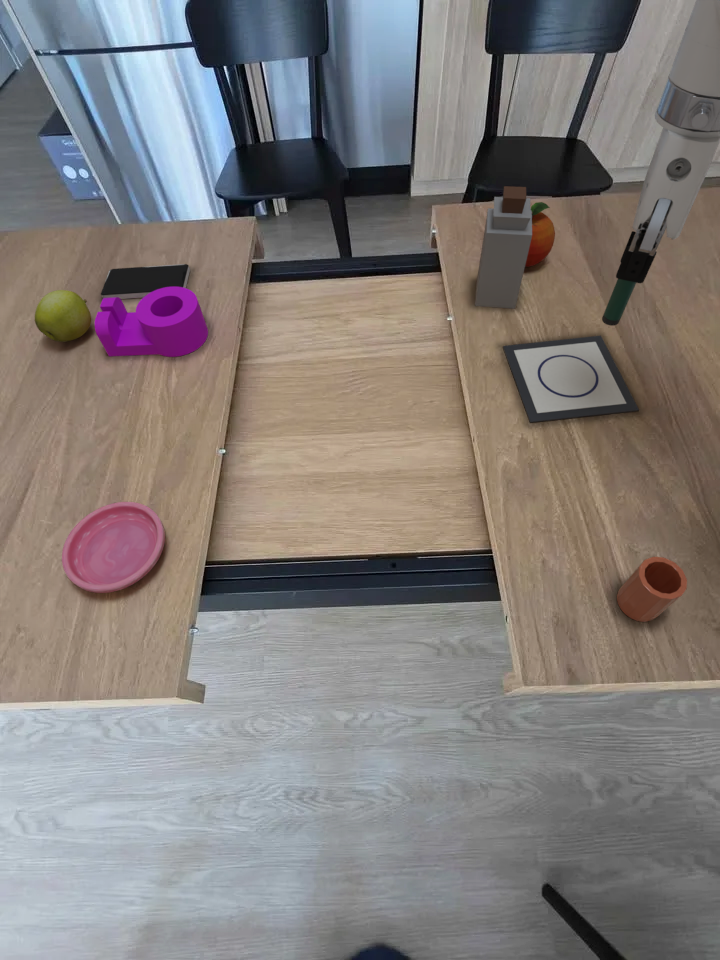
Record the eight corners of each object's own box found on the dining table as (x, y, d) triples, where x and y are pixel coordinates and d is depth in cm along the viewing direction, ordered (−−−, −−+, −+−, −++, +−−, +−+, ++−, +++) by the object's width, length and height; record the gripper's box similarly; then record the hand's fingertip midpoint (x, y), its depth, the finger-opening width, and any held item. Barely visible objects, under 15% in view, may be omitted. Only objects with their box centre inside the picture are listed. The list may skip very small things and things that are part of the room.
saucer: (64, 537, 73) (52, 525, 70) (156, 498, 76) (147, 485, 73) (83, 617, 66) (71, 608, 64) (182, 572, 69) (174, 561, 67)
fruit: (485, 253, 103) (493, 200, 95) (528, 238, 105) (540, 186, 97) (514, 281, 98) (525, 229, 90) (558, 266, 100) (574, 213, 92)
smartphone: (110, 268, 104) (188, 263, 103) (112, 273, 105) (190, 268, 104) (99, 295, 99) (182, 290, 99) (102, 301, 100) (184, 296, 100)
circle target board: (600, 336, 89) (601, 334, 89) (638, 411, 80) (639, 409, 80) (502, 347, 89) (503, 345, 89) (529, 423, 80) (530, 421, 80)
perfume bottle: (515, 308, 94) (538, 206, 79) (475, 305, 95) (491, 204, 80) (515, 283, 98) (538, 181, 83) (476, 281, 99) (492, 179, 84)
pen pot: (650, 580, 66) (675, 553, 60) (667, 619, 63) (695, 596, 57) (610, 584, 66) (631, 558, 60) (625, 624, 63) (649, 601, 57)
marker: (615, 313, 74) (654, 222, 63) (622, 325, 73) (662, 233, 62) (599, 315, 74) (634, 224, 63) (605, 326, 73) (642, 235, 62)
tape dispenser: (211, 315, 96) (201, 285, 91) (203, 355, 91) (192, 325, 86) (121, 319, 97) (106, 289, 92) (107, 359, 91) (90, 330, 86)
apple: (110, 323, 96) (90, 284, 90) (75, 357, 92) (51, 319, 85) (76, 312, 99) (53, 273, 92) (40, 345, 94) (14, 307, 87)
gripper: (740, 149, 47) (654, 321, 62) (751, 73, 55) (672, 242, 70) (648, 135, 49) (586, 305, 64) (671, 63, 57) (611, 230, 72)
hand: (631, 271), depth 67 cm, fingers closed on marker, 2 cm apart
